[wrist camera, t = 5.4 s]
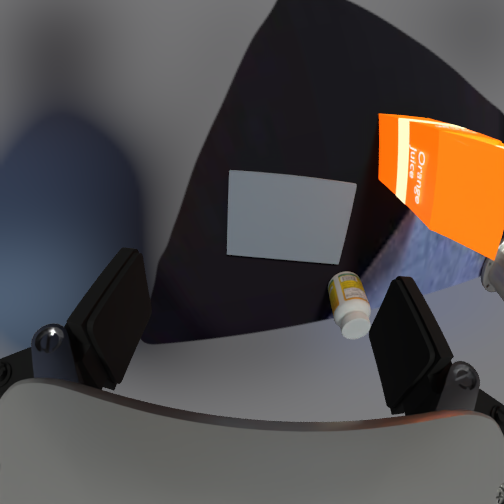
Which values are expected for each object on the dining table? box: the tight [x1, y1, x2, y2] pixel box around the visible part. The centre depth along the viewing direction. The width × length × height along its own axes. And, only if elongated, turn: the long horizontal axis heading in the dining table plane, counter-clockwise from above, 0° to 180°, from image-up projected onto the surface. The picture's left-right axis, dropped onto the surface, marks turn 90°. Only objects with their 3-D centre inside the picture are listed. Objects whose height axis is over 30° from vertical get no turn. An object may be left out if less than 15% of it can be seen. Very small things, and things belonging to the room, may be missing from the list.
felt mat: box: [227, 170, 357, 264], centre depth 37 cm, size 16×12×1 cm
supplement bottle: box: [328, 271, 371, 339], centre depth 38 cm, size 5×5×10 cm
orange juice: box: [379, 114, 504, 261], centre depth 22 cm, size 8×9×20 cm
